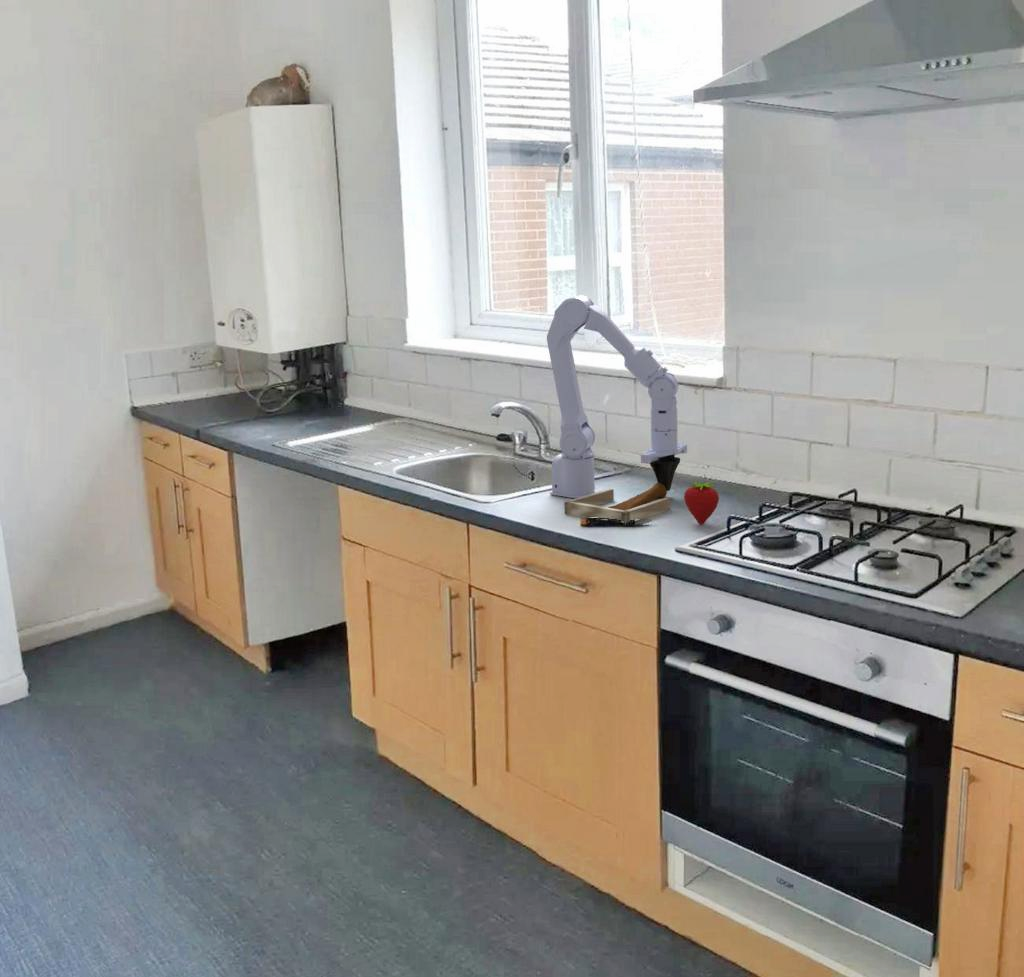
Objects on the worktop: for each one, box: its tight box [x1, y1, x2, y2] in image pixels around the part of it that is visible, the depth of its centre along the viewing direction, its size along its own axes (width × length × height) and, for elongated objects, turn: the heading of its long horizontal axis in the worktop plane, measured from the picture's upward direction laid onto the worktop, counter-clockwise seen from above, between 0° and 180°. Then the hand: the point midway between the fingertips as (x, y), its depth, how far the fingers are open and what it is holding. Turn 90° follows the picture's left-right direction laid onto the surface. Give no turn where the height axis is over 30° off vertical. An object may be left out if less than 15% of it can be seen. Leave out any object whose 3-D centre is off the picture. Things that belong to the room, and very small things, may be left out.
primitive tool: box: [607, 482, 668, 510], centre depth 234 cm, size 19×6×4 cm, turn 142°
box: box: [563, 488, 671, 525], centre depth 229 cm, size 16×15×2 cm
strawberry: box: [683, 474, 720, 525], centre depth 216 cm, size 6×8×10 cm
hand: (664, 490), depth 241 cm, fingers closed
